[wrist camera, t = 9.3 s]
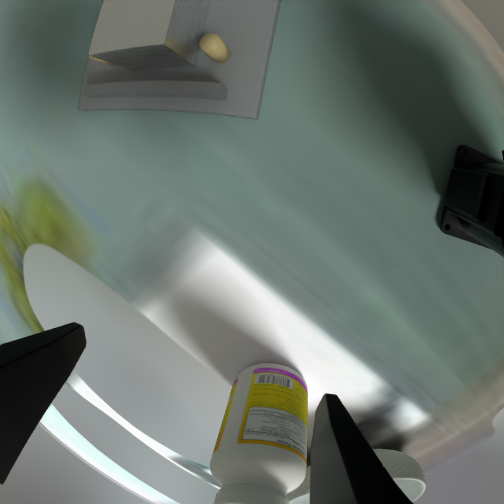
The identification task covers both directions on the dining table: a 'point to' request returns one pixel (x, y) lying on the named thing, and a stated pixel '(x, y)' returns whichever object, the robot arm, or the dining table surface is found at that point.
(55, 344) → the robot arm
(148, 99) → the tray
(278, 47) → the dining table surface
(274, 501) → the supplement bottle
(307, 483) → the cereal bowl
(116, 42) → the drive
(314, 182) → the dining table surface
